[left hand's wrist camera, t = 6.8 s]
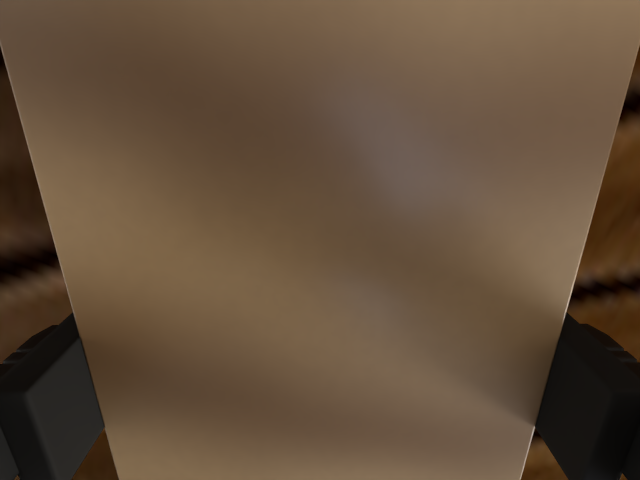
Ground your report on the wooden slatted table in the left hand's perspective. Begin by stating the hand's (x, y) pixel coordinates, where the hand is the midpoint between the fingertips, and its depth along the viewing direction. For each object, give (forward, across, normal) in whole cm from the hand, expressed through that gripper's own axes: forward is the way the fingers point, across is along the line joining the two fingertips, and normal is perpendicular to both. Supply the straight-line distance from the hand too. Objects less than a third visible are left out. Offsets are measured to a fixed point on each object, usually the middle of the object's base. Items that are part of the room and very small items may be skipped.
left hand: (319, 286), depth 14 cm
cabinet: (+4, 0, -6) cm, 8 cm away
